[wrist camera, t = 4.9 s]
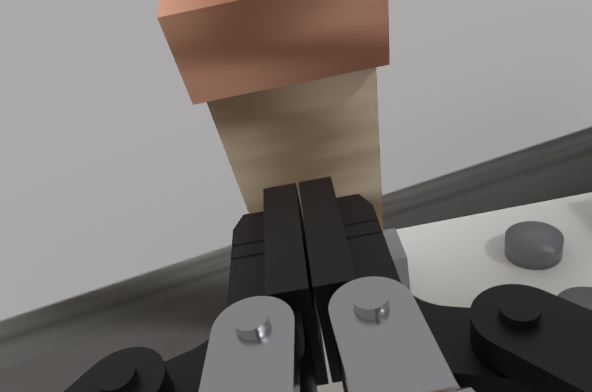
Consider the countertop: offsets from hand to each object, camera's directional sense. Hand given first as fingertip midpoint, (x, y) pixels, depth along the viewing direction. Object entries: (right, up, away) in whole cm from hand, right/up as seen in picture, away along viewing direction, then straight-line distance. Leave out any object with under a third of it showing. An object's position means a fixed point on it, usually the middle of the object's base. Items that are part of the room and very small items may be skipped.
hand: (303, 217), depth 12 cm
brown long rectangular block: (+2, -3, +14) cm, 15 cm away
